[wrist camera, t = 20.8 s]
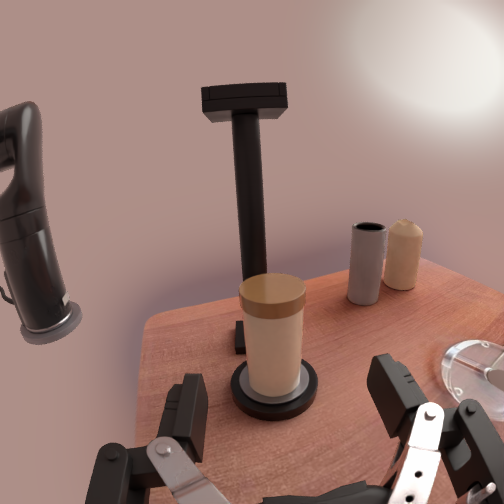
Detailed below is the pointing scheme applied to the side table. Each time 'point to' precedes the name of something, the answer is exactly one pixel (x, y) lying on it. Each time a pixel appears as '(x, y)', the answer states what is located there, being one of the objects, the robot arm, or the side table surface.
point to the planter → (366, 262)
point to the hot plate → (274, 406)
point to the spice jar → (273, 331)
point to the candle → (403, 255)
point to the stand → (247, 164)
